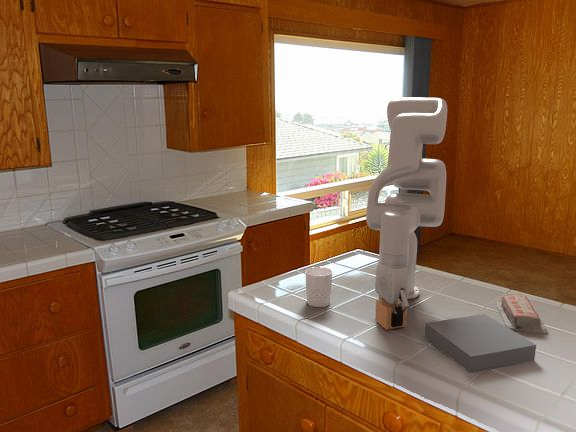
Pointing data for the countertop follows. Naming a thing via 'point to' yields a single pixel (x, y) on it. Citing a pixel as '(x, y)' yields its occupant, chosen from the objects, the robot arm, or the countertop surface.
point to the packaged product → (520, 314)
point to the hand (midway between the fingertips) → (390, 320)
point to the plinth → (479, 342)
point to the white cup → (318, 286)
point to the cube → (387, 314)
